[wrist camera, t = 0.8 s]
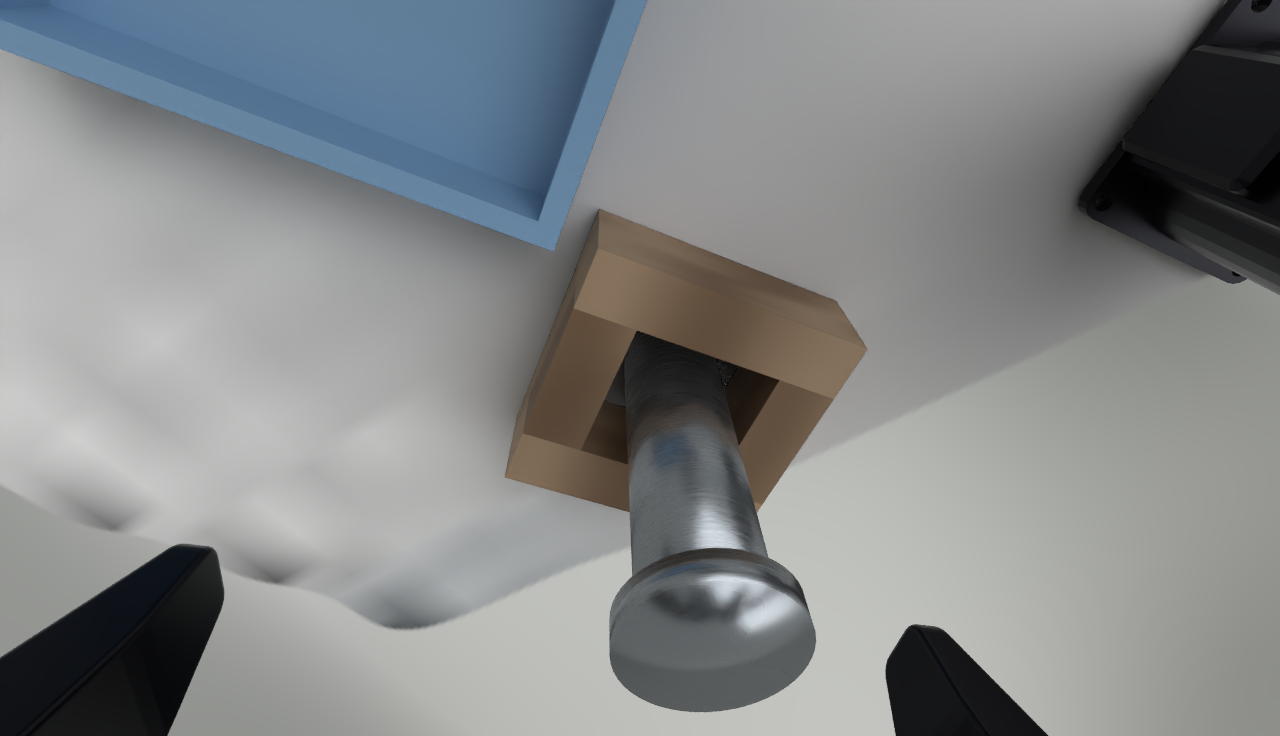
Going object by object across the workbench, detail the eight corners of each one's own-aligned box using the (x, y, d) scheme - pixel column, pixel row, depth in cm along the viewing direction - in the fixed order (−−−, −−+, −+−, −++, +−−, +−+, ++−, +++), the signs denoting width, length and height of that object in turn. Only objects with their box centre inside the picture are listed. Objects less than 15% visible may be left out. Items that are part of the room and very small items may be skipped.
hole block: (836, 301, 21) (867, 348, 19) (723, 481, 25) (736, 541, 23) (599, 208, 19) (597, 248, 17) (516, 419, 23) (504, 477, 21)
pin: (751, 332, 22) (855, 610, 13) (698, 425, 24) (755, 726, 14) (636, 291, 21) (659, 558, 12) (591, 391, 23) (580, 690, 14)
